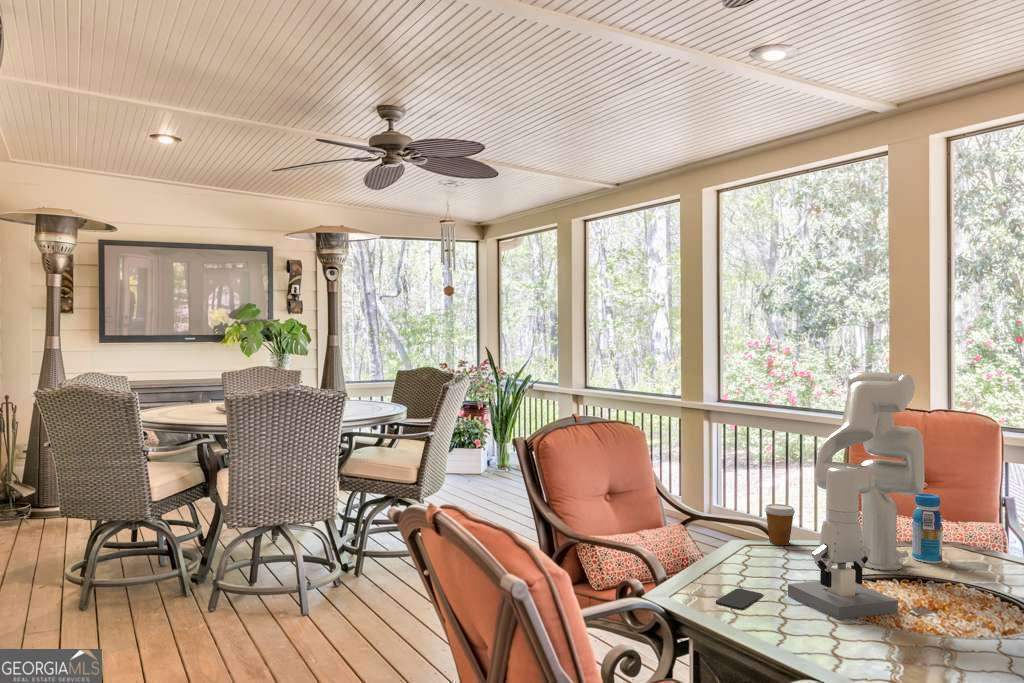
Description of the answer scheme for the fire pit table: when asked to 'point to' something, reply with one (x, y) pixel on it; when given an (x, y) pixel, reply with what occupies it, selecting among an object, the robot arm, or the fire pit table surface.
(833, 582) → the plug
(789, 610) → the fire pit table surface
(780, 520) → the disposable coffee cup
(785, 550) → the fire pit table surface
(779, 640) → the fire pit table surface
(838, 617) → the socket plate
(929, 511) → the beverage bottle
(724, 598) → the phone
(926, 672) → the fire pit table surface
